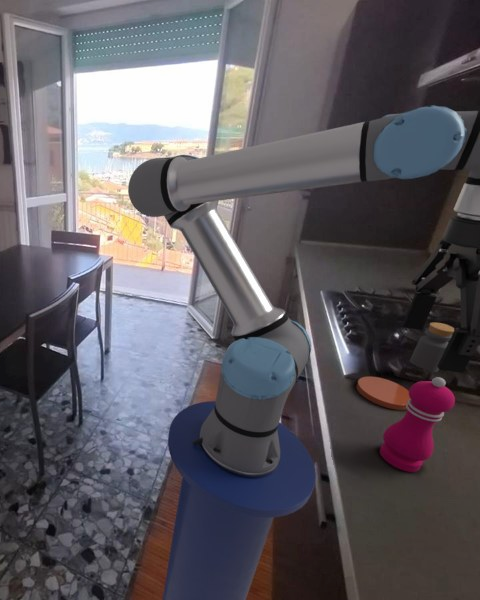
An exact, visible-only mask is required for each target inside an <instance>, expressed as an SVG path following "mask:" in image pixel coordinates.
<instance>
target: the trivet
mask: <svg viewBox="0 0 480 600" xmlns="http://www.w3.org/2000/svg"><path fill="white" fill-rule="evenodd" d="M356 390H357V392H358V393H359V394H360V395H361V396H362V397H363V398H365V399H366V400H368V401H369V402H371V403H373V404H375V405H378V406H381V407H382V408H386V409H391V410H396V411H404V410H408V409H407V408H406V404H407V403H408V400H409V399H410V397H409V390H408V389H407V388H405V387H404V386H402V385H400V384H399V383H397V382H395V381H392V380H390V379H386V378H383V377H378V376H363V377H360V378H359V379H358V380H357V384H356Z"/></svg>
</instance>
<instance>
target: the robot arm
mask: <svg viewBox="0 0 480 600" xmlns="http://www.w3.org/2000/svg"><path fill="white" fill-rule="evenodd" d="M440 170H444V171H450V170H451V171H469V173H468V177H466V180H465V182H464V183H463V186H462V188H461V191H460V193H459V195H458V198H457V200H456V202H455V205H454V207H453V211H454V212H455V213H456V214H453V215H452V216H450V218H449V220H448V222H447V225H446V227H445V230H444V231H443V234H442V238H441V239H439V241H438V243H437V245H436V247H435V249H434V251H433V252H432V253H431V254H430V257H428V258H427V260H426V262H425V263H424V264H423V265H422V266H421V268H420V269H419V270H418V271H417V273H416V274H415V275H414V277H413V278H412V279H411V285H412V286H415V287H414V292H415V293H414V295H413V298H412V300H411V302H410V304H409V307H408V309H407V311H406V314H405V317H404V320H403V321H402V323H401V327H402V328H405V329H410V330H411V329H412V330H418V331H423V329H424V327H425V325H426V323H427V321H428V318H429V317H430V313H431V311H432V309H433V307H434V305H435V302H436V300H437V298H438V296H436V295H440V294H441V293H440V290H441V289H443V288H444V287H445V286H447V284H449V283H450V282H452V281H453V280H454V281H455V286H456V288H458V289H459V291H460V292H459V293H460V326H459V327H455V328H454V333H453V334H452V337H451V339H450V341H448V345H447V347H446V349H445V351H444V353H443V355H442V357H441V359H440V361H439V363H438V365H437V367H438V368H439V370H442V371H447V372H453V373H460V374H464V372H465V370H466V368H467V367H468V364H469V363H470V360H471V359H472V357H473V355H474V354H475V353H476V350H477V349H478V347H479V345H480V109H479V110H466V111H465V110H464V111H462V110H461V111H460V110H459V111H458V110H457V111H455V110H453V109H451V108H449V107H447V106H444V105H443V106H438V105H435V104H433V105H427V106H420V107H416V108H412V109H408V110H407V111H405V112H402V113H391V114H386V115H384V116H382V117H380V118H376V119H372V120H370V121H362V122H357V123H353V124H349V125H343V126H340V127H335V128H330V129H325V130H320V131H315V132H312V133H307V134H303V135H298V136H293V137H288V138H285V139H280V140H276V141H270V142H267V143H262V144H257V145H252V146H247V147H243V148H239V149H234V150H229V151H224V152H220V153H217V154H212V155H208V156H202V157H199V156H196V155H195V156H194V155H191V154H178V155H175V156H169V157H154V158H150V159H147V160H145V161H143V162H142V163H140V164H139V165H138V166H137V167H136V168H135V169H134V170H133V172H132V174H131V176H130V177H129V181H128V186H127V189H128V190H127V191H128V192H127V193H128V198H129V200H130V203H131V205H132V206H133V207H134V209H135V210H136V211H137V212H139V213H140V214H142V215H144V216H146V217H150V218H160V217H164V218H165V220H166V222H167V224H168V225H169V227H170V229H173V230H178V231H180V232H181V234H182V236H183V237H184V239H185V241H186V243H187V244H188V246H189V248H190V250H191V251H192V253H193V255H194V257H195V258H196V260H197V262H198V263H199V265H200V267H201V269H202V271H203V272H204V275H205V276H206V278H207V280H208V281H209V283H210V284H211V287H212V288H213V290H214V292H215V293H216V295H217V297H218V299H219V300H220V302H221V304H222V305H223V308H224V310H225V311H226V312H227V314H228V316H229V318H230V320H231V321H232V323H233V326H232V328H231V329H232V330H231V332H230V333H231V336H232V337H233V339H234V341H233V342H231V343H230V345H229V346H228V347H227V349H226V351H225V353H224V356H223V357H222V361H221V362H222V363H221V365H220V366H221V368H220V369H221V371H220V374H219V375H220V376H219V381H218V386H217V391H216V397H215V400H214V401H215V407H214V409H213V410H212V412H211V413H210V414H209V416H208V417H207V419H206V420H205V421H204V423H203V425H202V427H201V430H200V436H199V439H198V440H196V441H194V442H193V444H194V446H195V445H198V444H200V445H201V448H202V450H203V452H204V453H205V455H206V456H207V457H208V458H209V459H210V460H211V461H212V462H213V463H214V464H215V465H217V466H218V467H220V468H221V469H223V470H224V471H226V472H228V473H231V474H233V475H236V476H240V477H244V478H262V477H266V476H268V475H270V474H272V473H273V472H274V471H275V470H276V468H277V466H278V463H279V460H280V445H279V438H278V432H277V428H278V424H279V422H280V420H281V418H282V414H283V411H284V408H285V404H286V402H287V399H288V397H289V395H290V393H291V391H292V389H293V387H294V386H295V384H296V382H297V381H298V379H299V377H300V376H301V374H302V372H303V370H304V369H305V368H306V367H307V365H308V363H309V361H310V358H311V353H312V342H311V338H310V335H309V333H308V331H307V330H306V329H305V328H304V327H303V326H302V325H301V324H300V323H298V322H297V321H293V320H292V319H290V317H289V316H288V314H287V312H286V311H285V309H283V308H281V307H276V306H274V305H273V304H272V302H271V301H270V299H269V297H268V295H267V294H266V292H265V290H264V289H263V287H262V285H261V282H260V281H259V280H258V278H257V277H256V274H255V273H254V272H253V270H252V268H251V266H250V265H249V263H248V261H247V260H246V257H245V256H244V254H243V253H242V250H241V249H240V247H239V245H238V244H237V242H236V241H235V238H234V236H233V235H232V234H231V232H230V230H229V228H228V227H227V225H226V223H225V222H224V220H223V218H222V216H221V215H220V213H219V212H218V205H219V202H220V201H226V200H235V199H243V198H249V197H257V196H264V195H274V194H281V193H287V192H296V191H302V190H303V191H305V190H309V189H311V190H312V189H319V188H326V187H334V186H340V185H349V184H357V183H365V182H375V181H376V182H377V181H383V180H384V181H385V180H391V179H399V180H400V179H401V180H412V179H417V178H424V177H427V176H430V175H432V174H435V173H436V172H439V171H440ZM422 278H425V279H422ZM439 289H440V290H439Z"/></svg>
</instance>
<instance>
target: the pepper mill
mask: <svg viewBox="0 0 480 600" xmlns="http://www.w3.org/2000/svg"><path fill="white" fill-rule="evenodd" d="M446 384H447V382H446V380H445V379H444V378H442V377H440V376H439V377H438V376H435V378H433V379H432V381H422V380H419V381H417V382H415V383H414V384H412V385H411V387H410V388H409V390H408V391H409V397H410V399H409V400H408V403H407V404H406V408H407V409H406V413H405V414H404V416H403V417H402V418H401V419H400V420H398V421H397V422H395V423H393V424H391V425H389V426H388V427H387V428H386V430H385V431H384V432H383V436H382V437H383V441H384V442H383V443H382V444H381V446H380V448H379V454H380V457H382V459H383V460H384V461H386V462H387V463H388V464H389V465H391V466H392V467H394V468H395V469H398V470H400V471H404V472H409V473H414V472H418V471H419V470H420V469H421V467H422V465H423V464H424V461H427V460H429V459H430V458H431V457H432V455H433V452H434V445H435V443H434V438H433V428H434V427H435V424H436V423H438V422H440V421H442V419H443V417H444V416H445V413H446V412H449V411H451V410H452V409H453V407H454V406H455V402H456V397H455V395H454V394H453V392H452V391H451V389H449V388H448V387H447V386H446Z"/></svg>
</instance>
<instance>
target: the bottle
mask: <svg viewBox="0 0 480 600" xmlns="http://www.w3.org/2000/svg"><path fill="white" fill-rule="evenodd" d="M454 329H455V327H453V326H451V325H449V324H446V323H443V322H442V323H441V322H436V321H435V322H430V323H429V327H428V328H426V329H425V331H424V334H425V335H422V336H421V337H420V338H419V340H418V341H417V344H416V346H415V347H414V350H413V351H412V355H411V356H410V359H409V361H410V362H411V363H412V364H414V365H416V366H418V367H420V368H423V369H426V370H429V371H432V372H437V371H438V372H439V370H440V369H439V368H438V367H437V365H438V363H439V361H440V359H441V357H442V355H443V353H444V351H445V349H446V347H447V345H448V343H449V341H450V339H451V337H452V335H453V333H454ZM438 372H437V373H438Z"/></svg>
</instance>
